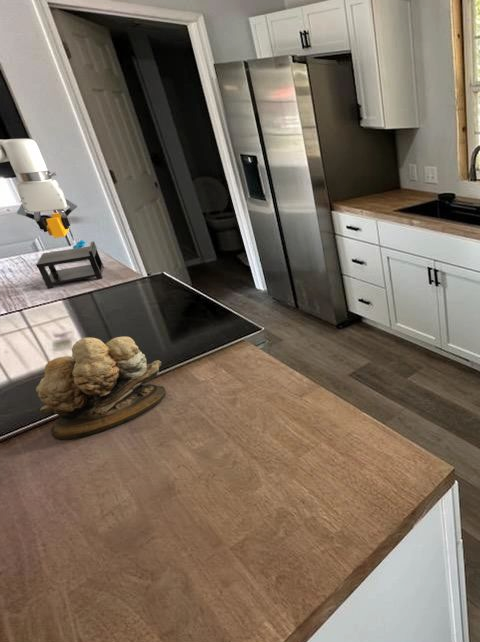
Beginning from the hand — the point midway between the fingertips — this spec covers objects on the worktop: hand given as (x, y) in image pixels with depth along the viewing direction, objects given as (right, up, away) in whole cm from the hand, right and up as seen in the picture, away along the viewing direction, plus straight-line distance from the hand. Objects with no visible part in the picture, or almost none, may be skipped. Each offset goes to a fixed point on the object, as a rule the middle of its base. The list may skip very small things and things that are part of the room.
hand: (56, 229), depth 144 cm
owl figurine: (+81, -43, -62) cm, 111 cm away
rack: (0, -17, +7) cm, 18 cm away
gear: (-18, -10, +25) cm, 33 cm away
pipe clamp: (0, -2, +1) cm, 2 cm away
